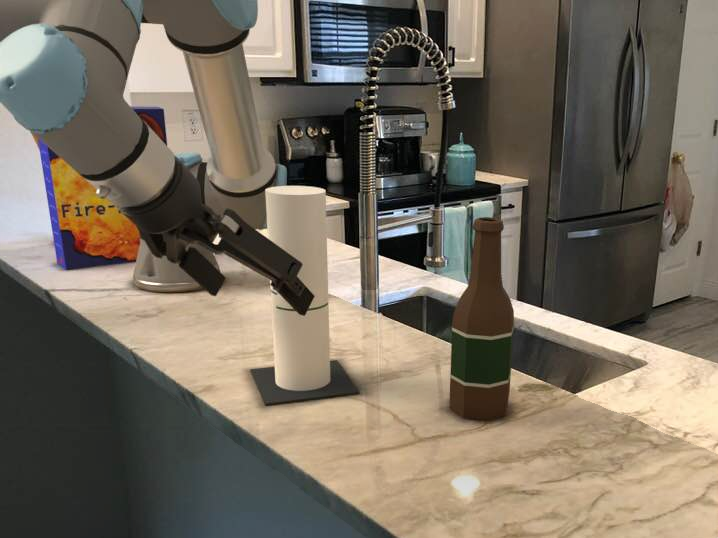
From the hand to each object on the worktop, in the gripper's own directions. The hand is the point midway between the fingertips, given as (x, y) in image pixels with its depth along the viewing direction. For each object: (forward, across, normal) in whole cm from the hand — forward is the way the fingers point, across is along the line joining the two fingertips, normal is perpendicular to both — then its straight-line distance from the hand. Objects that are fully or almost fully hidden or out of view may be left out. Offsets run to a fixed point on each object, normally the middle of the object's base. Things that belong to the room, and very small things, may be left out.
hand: (261, 295), depth 91 cm
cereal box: (+36, -72, +17) cm, 82 cm away
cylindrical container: (+14, 0, -5) cm, 15 cm away
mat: (+15, 0, -5) cm, 15 cm away
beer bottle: (+18, +24, -1) cm, 30 cm away
